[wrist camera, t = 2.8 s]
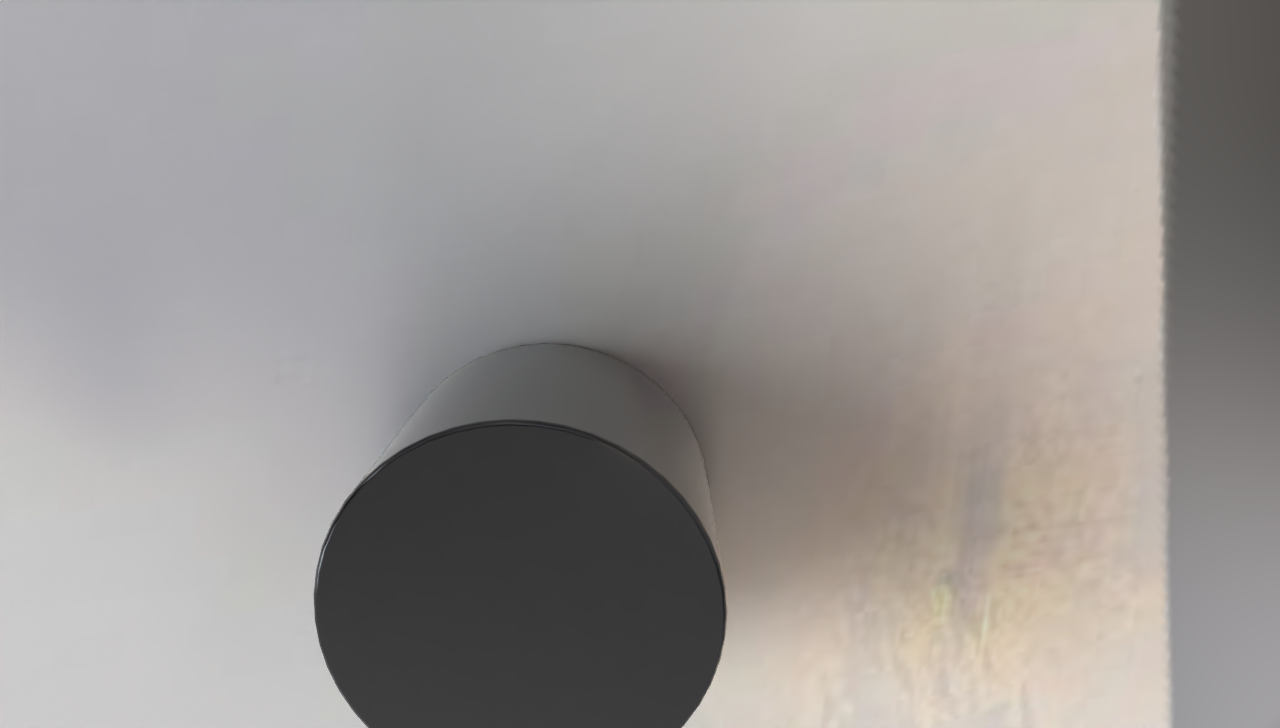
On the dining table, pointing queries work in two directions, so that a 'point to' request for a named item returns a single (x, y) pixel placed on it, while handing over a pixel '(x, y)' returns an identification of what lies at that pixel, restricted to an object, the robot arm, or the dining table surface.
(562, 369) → the dark grey puck
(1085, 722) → the dining table surface
